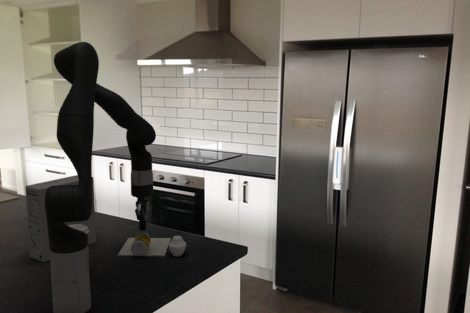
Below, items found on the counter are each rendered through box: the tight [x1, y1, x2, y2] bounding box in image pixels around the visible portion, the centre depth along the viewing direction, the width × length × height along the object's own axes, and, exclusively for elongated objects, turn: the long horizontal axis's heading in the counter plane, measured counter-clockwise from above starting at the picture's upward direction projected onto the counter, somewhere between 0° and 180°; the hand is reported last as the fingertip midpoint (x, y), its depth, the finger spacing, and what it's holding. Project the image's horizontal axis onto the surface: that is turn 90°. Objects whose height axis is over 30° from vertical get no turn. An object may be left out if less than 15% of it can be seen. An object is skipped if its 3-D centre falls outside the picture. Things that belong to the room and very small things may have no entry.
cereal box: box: [25, 174, 97, 263], centre depth 145 cm, size 22×8×25 cm, turn 149°
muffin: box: [168, 235, 187, 258], centre depth 144 cm, size 6×6×7 cm
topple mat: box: [117, 237, 172, 257], centre depth 150 cm, size 16×16×1 cm
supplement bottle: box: [131, 232, 151, 257], centre depth 146 cm, size 6×6×10 cm
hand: (143, 229), depth 145 cm, fingers closed
